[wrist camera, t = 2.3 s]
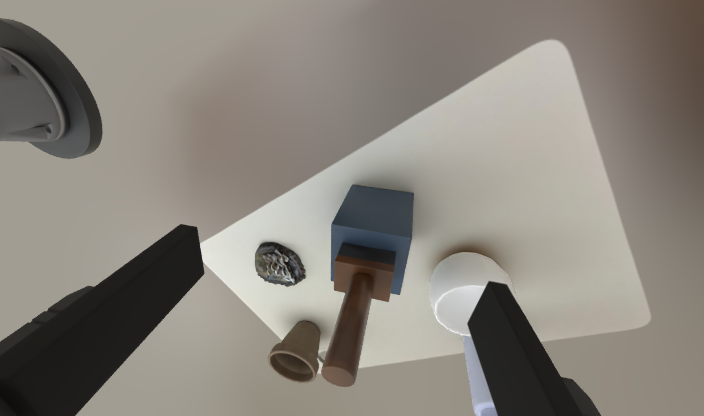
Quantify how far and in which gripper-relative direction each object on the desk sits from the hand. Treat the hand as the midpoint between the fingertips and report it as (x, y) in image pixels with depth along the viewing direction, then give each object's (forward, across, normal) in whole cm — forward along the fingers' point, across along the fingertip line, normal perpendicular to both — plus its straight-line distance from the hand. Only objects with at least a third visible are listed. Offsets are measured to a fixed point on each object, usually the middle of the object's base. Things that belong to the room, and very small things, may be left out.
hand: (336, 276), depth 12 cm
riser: (+30, +4, -13) cm, 33 cm away
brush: (+18, +3, -14) cm, 23 cm away
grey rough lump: (+34, -15, -30) cm, 48 cm away
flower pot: (+34, -7, -50) cm, 61 cm away
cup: (+29, +20, -19) cm, 41 cm away
